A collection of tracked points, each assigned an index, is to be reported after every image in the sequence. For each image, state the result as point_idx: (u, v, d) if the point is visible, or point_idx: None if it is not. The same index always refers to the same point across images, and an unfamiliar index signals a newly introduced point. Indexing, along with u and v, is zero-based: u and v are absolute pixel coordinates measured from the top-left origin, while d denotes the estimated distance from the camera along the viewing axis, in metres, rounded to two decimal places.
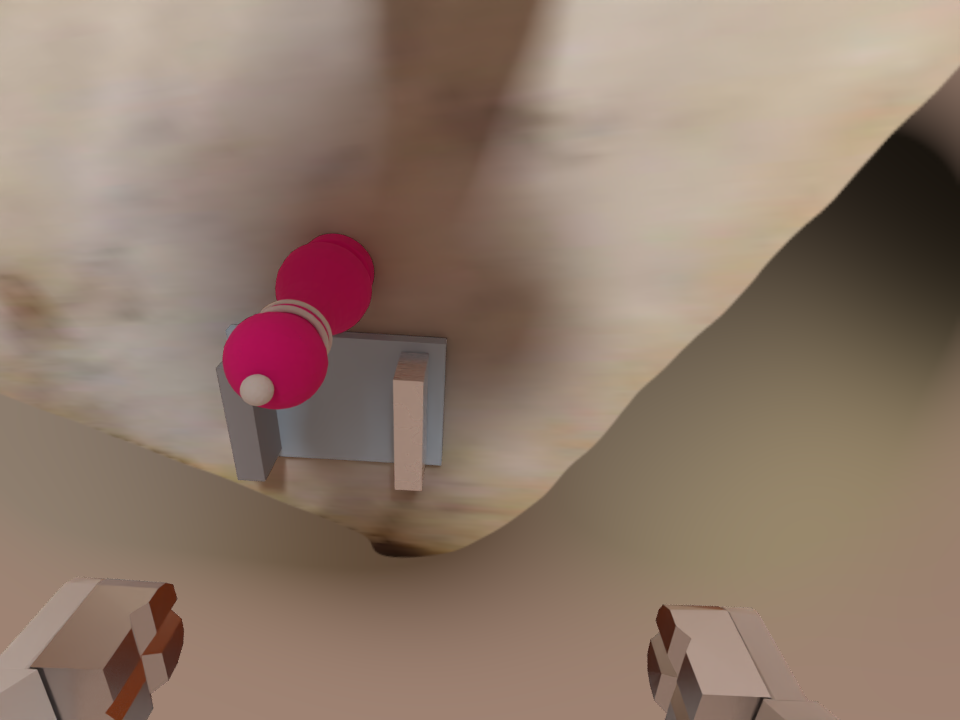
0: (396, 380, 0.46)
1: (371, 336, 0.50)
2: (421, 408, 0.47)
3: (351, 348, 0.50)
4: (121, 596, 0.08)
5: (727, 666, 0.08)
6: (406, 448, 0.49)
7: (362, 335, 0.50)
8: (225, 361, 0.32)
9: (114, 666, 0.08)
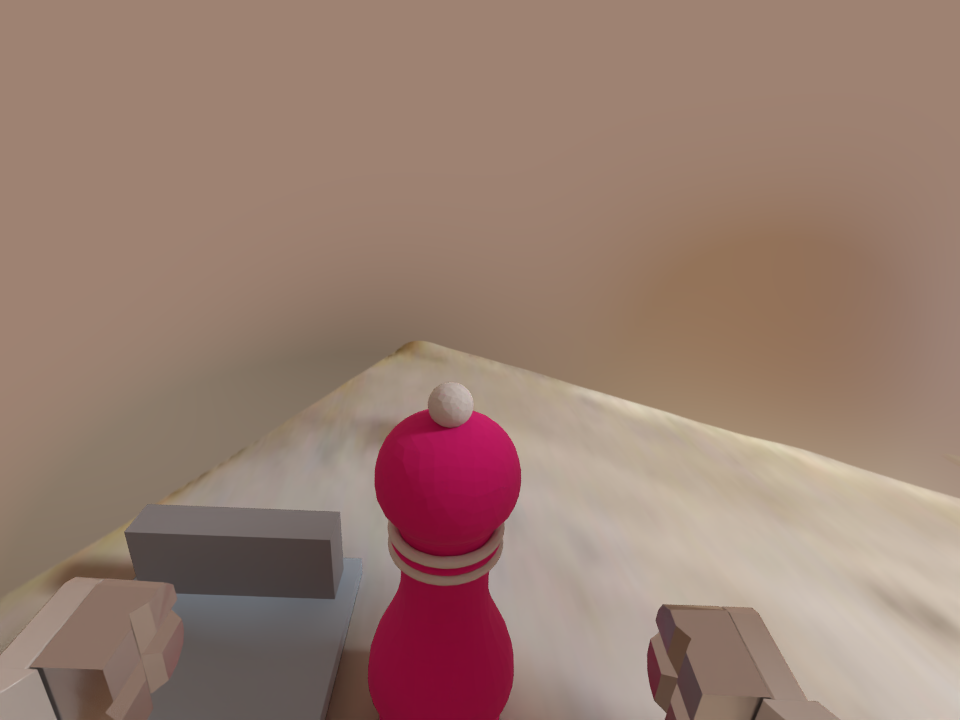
0: None
1: None
2: None
3: None
4: (121, 596, 0.08)
5: (727, 665, 0.08)
6: None
7: None
8: None
9: (114, 666, 0.08)
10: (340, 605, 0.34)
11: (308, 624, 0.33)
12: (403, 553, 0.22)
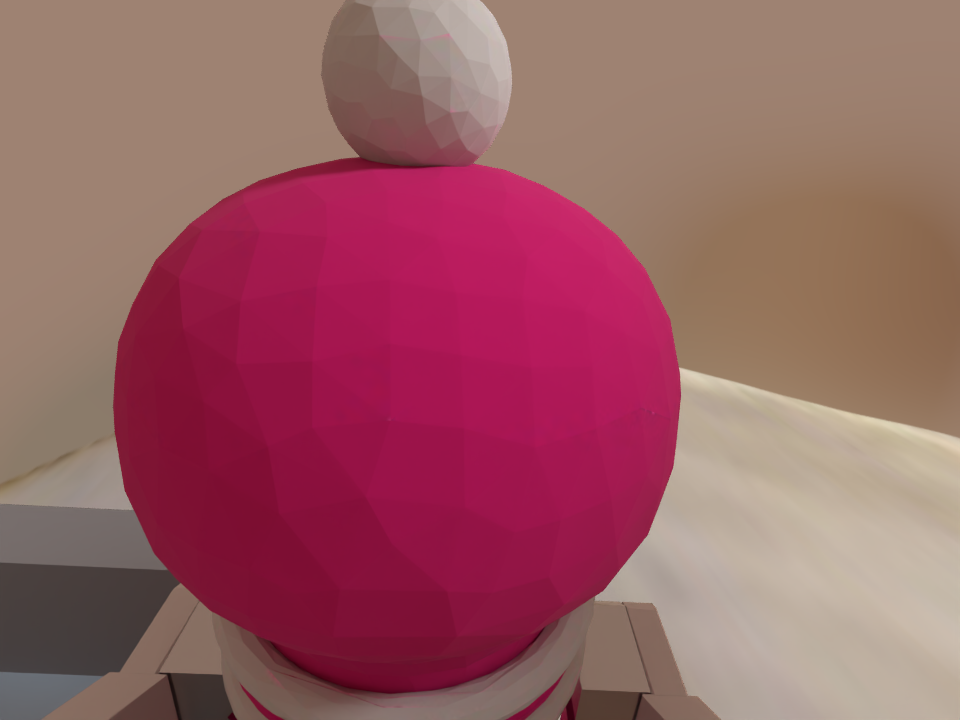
0: None
1: None
2: None
3: None
4: None
5: (612, 661, 0.08)
6: None
7: None
8: None
9: None
10: None
11: None
12: (238, 676, 0.06)
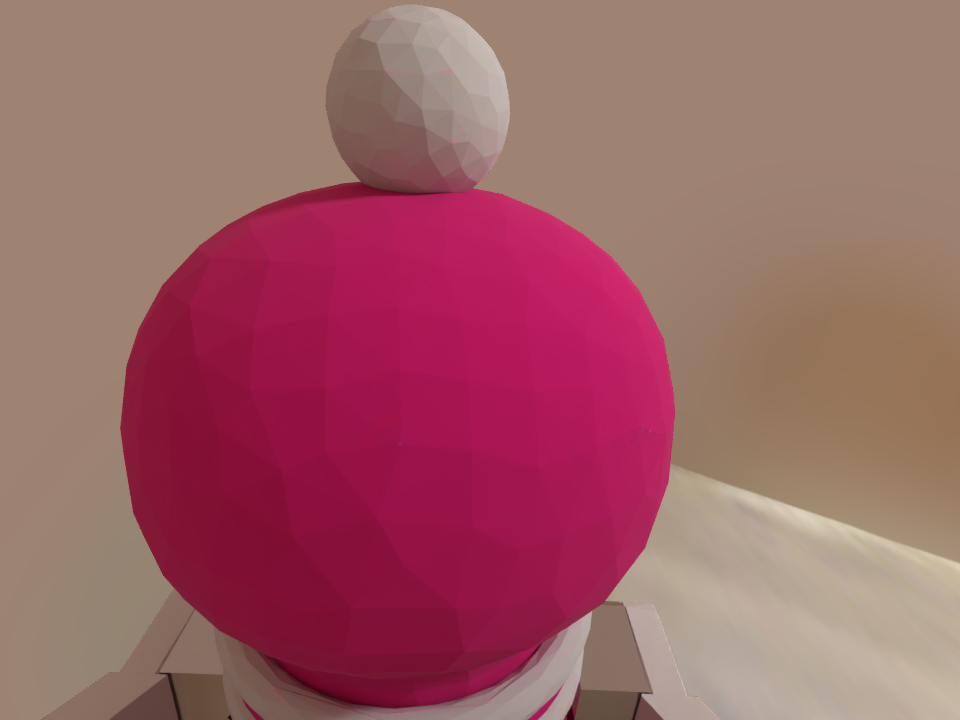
0: None
1: None
2: None
3: None
4: None
5: (612, 661, 0.08)
6: None
7: None
8: None
9: None
10: None
11: None
12: (242, 694, 0.06)
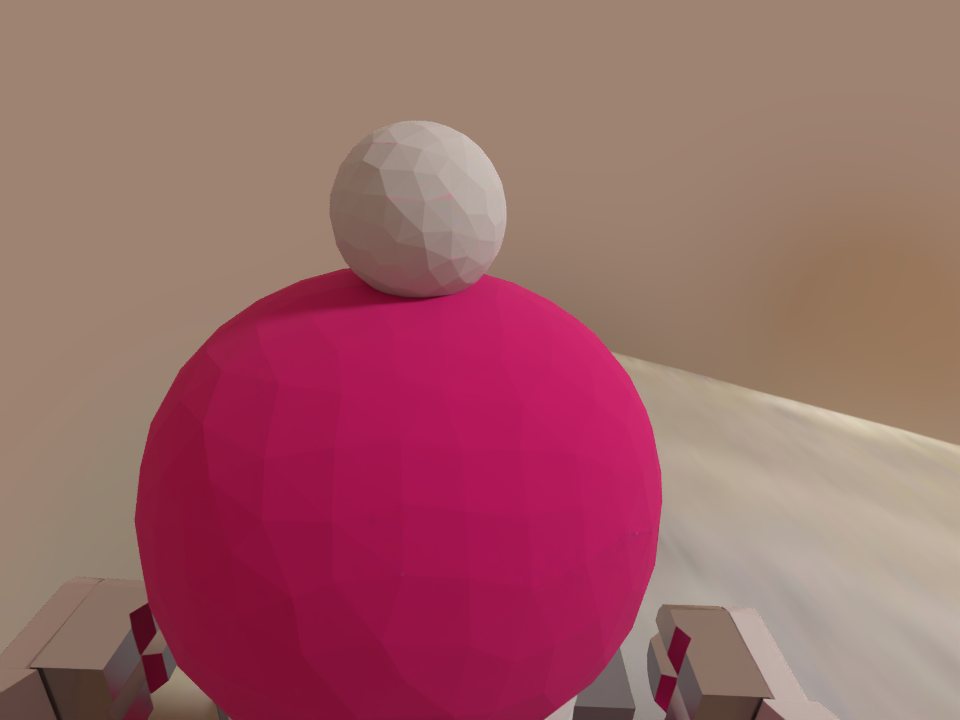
0: None
1: None
2: None
3: None
4: (121, 596, 0.08)
5: (727, 665, 0.08)
6: None
7: None
8: None
9: (114, 666, 0.08)
10: None
11: None
12: None
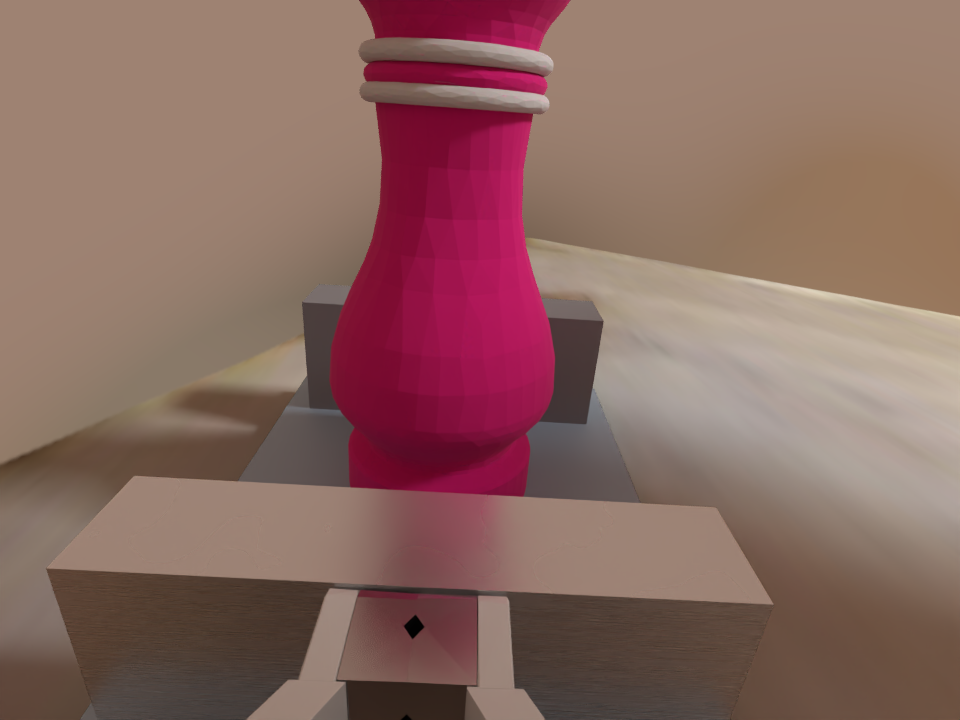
0: (718, 517, 0.11)
1: None
2: (614, 590, 0.09)
3: None
4: (387, 608, 0.08)
5: (447, 654, 0.08)
6: (369, 524, 0.10)
7: None
8: None
9: None
10: (598, 430, 0.24)
11: (566, 446, 0.22)
12: (385, 47, 0.13)
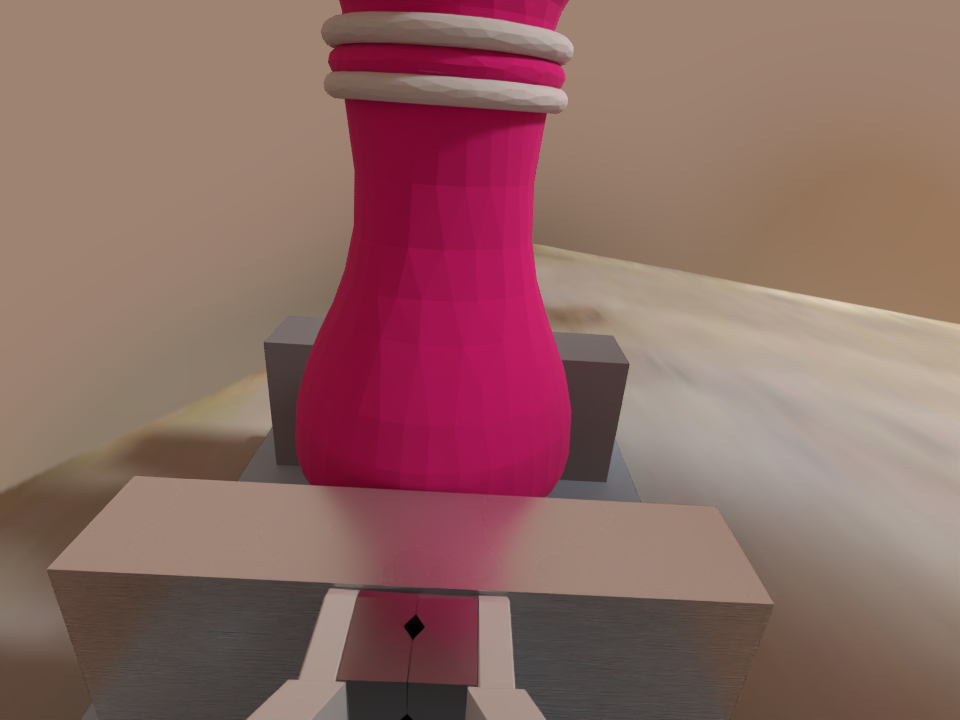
0: (718, 516, 0.11)
1: None
2: (614, 590, 0.09)
3: None
4: (387, 608, 0.08)
5: (448, 653, 0.08)
6: (369, 524, 0.10)
7: None
8: None
9: None
10: (621, 490, 0.20)
11: None
12: (351, 24, 0.09)
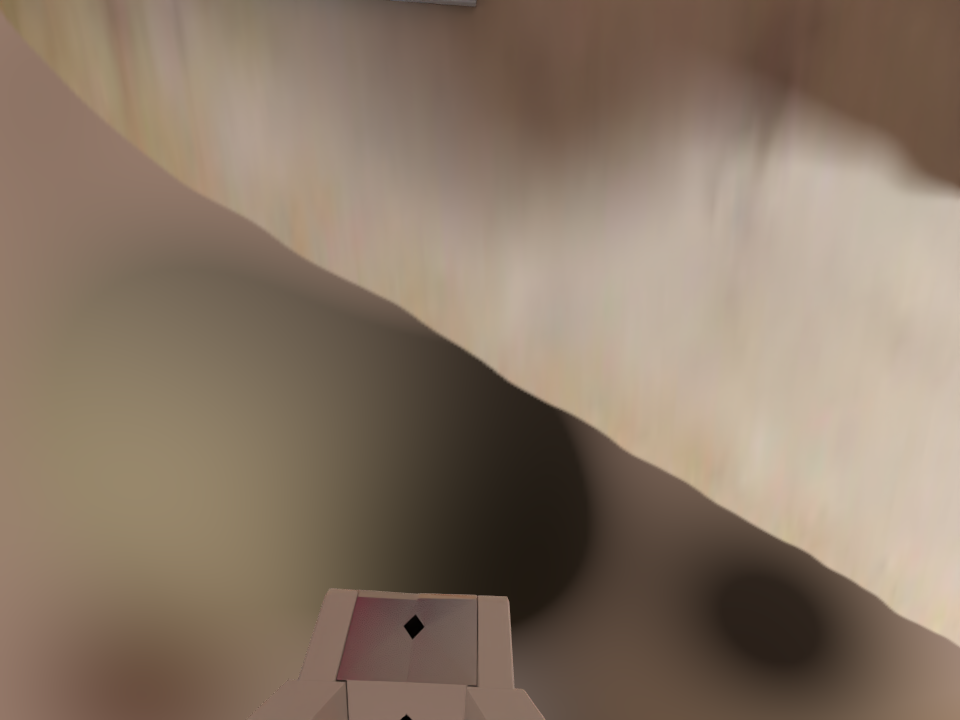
0: None
1: None
2: None
3: None
4: (387, 608, 0.08)
5: (448, 654, 0.08)
6: None
7: None
8: None
9: None
10: None
11: None
12: None
